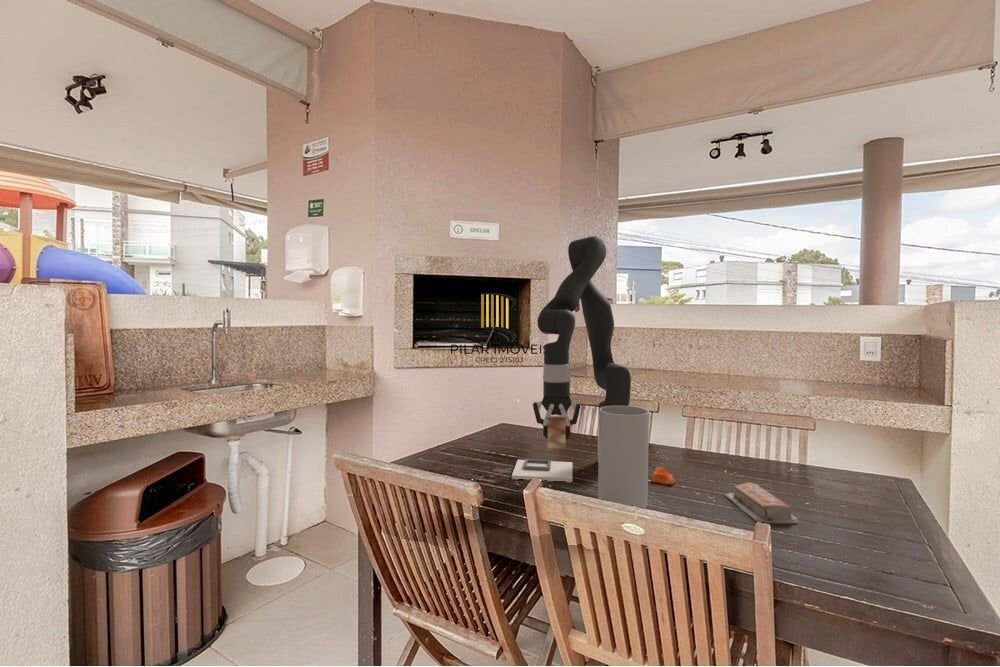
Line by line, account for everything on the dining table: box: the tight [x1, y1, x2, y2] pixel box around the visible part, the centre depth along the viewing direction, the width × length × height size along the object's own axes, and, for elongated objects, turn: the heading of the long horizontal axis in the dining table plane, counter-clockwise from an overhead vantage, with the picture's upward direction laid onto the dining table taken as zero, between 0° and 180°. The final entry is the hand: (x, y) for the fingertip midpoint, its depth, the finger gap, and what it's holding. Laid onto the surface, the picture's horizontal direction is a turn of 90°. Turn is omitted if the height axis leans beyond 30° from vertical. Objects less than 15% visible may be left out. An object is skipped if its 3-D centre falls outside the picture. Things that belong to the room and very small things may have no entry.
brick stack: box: [547, 415, 567, 449], centre depth 142 cm, size 5×5×8 cm
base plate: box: [511, 458, 573, 483], centre depth 156 cm, size 18×16×2 cm
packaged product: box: [724, 481, 799, 524], centre depth 128 cm, size 18×5×10 cm
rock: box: [651, 466, 676, 485], centre depth 148 cm, size 12×12×4 cm
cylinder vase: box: [597, 405, 650, 509], centre depth 129 cm, size 12×12×25 cm
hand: (556, 437), depth 142 cm, fingers closed on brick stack, 5 cm apart
